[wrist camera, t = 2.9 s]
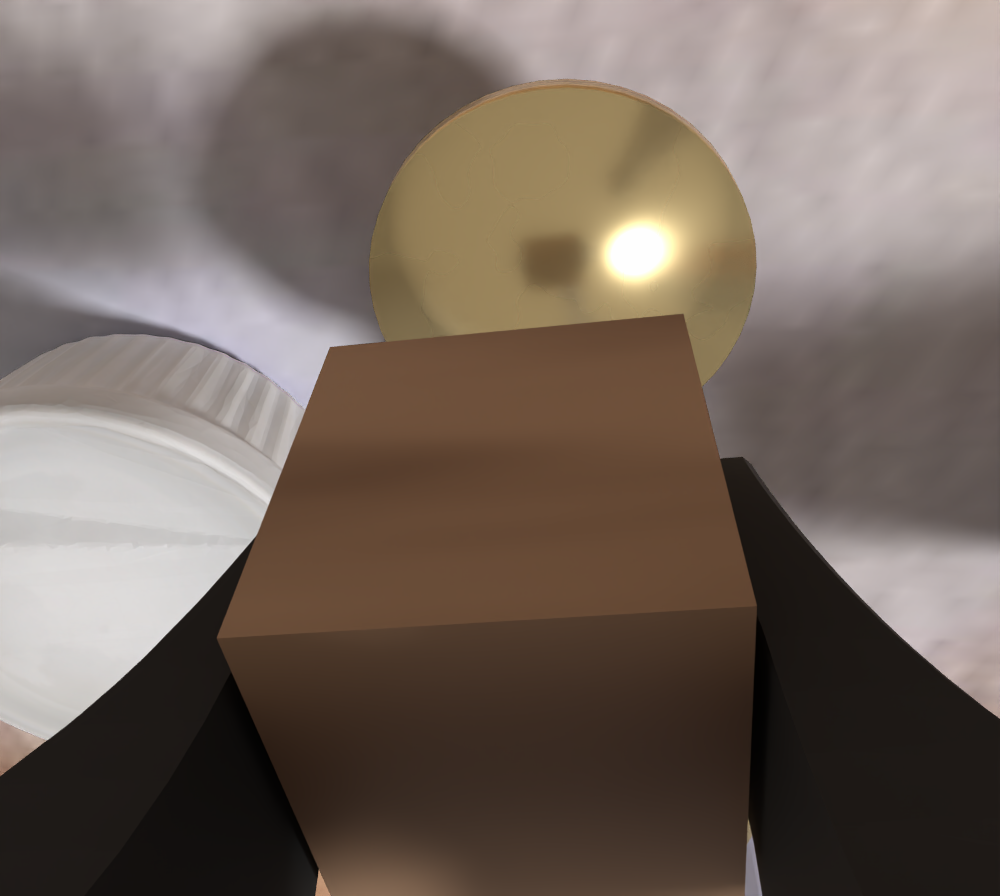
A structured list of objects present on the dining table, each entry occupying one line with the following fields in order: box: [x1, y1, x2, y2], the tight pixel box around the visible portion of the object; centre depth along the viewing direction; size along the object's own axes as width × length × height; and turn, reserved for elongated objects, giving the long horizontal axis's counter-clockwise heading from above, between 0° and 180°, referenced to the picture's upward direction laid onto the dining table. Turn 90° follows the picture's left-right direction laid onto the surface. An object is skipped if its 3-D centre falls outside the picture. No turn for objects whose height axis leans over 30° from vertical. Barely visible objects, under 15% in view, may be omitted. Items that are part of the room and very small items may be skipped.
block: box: [217, 314, 757, 896], centre depth 11 cm, size 4×4×5 cm
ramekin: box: [0, 334, 305, 740], centre depth 23 cm, size 11×11×5 cm
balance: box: [369, 79, 756, 843], centre depth 22 cm, size 21×7×6 cm, turn 8°
